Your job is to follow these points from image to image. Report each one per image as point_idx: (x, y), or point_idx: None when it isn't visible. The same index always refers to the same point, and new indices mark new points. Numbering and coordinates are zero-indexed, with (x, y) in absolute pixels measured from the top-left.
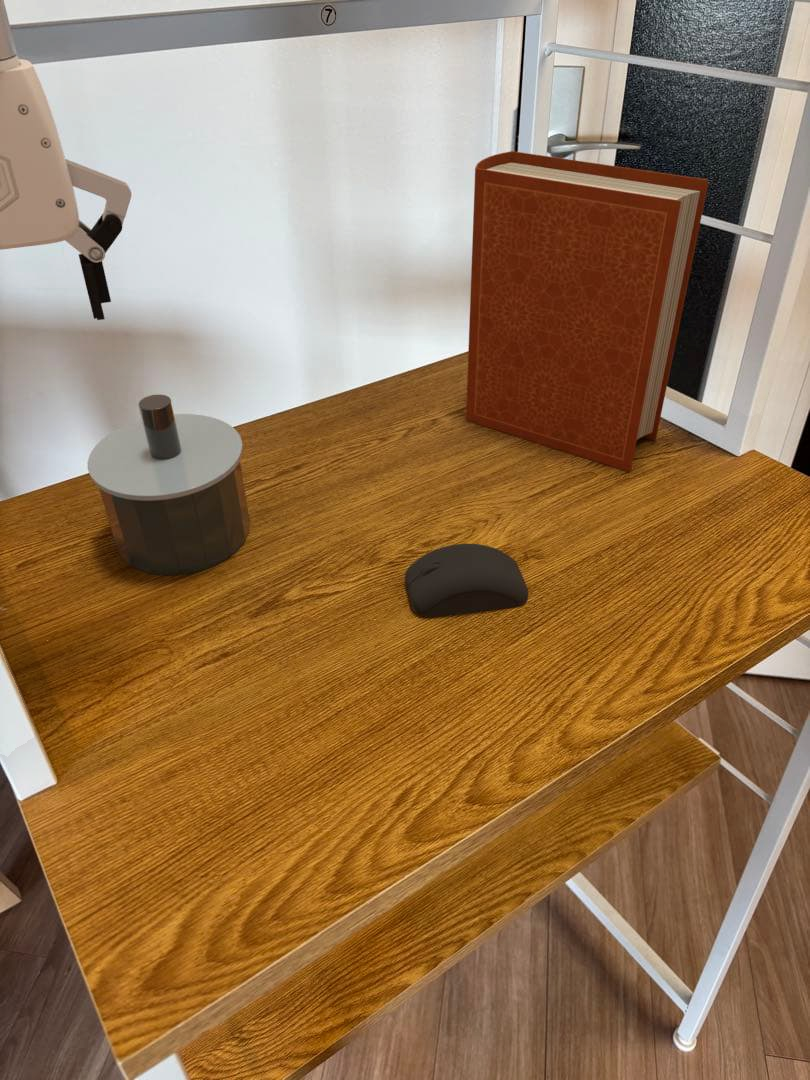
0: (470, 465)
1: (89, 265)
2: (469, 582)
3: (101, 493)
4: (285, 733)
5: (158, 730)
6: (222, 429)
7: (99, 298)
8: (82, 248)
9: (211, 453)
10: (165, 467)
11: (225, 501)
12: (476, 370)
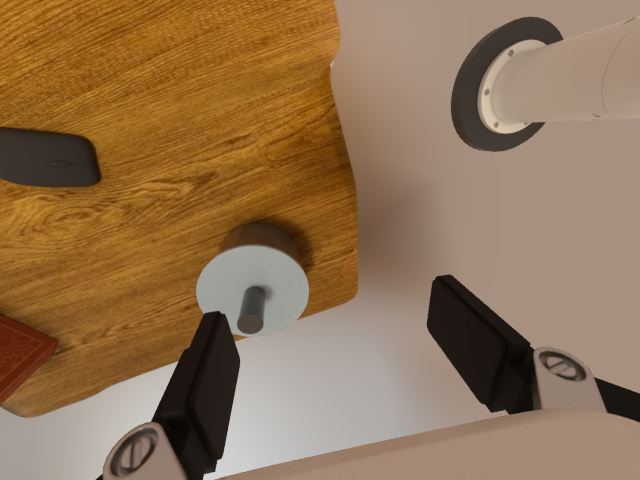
0: (51, 292)
1: (168, 410)
2: (17, 135)
3: None
4: (187, 51)
5: (272, 85)
6: None
7: (193, 340)
8: (160, 467)
9: (220, 288)
10: (254, 277)
11: (218, 253)
12: (7, 374)
